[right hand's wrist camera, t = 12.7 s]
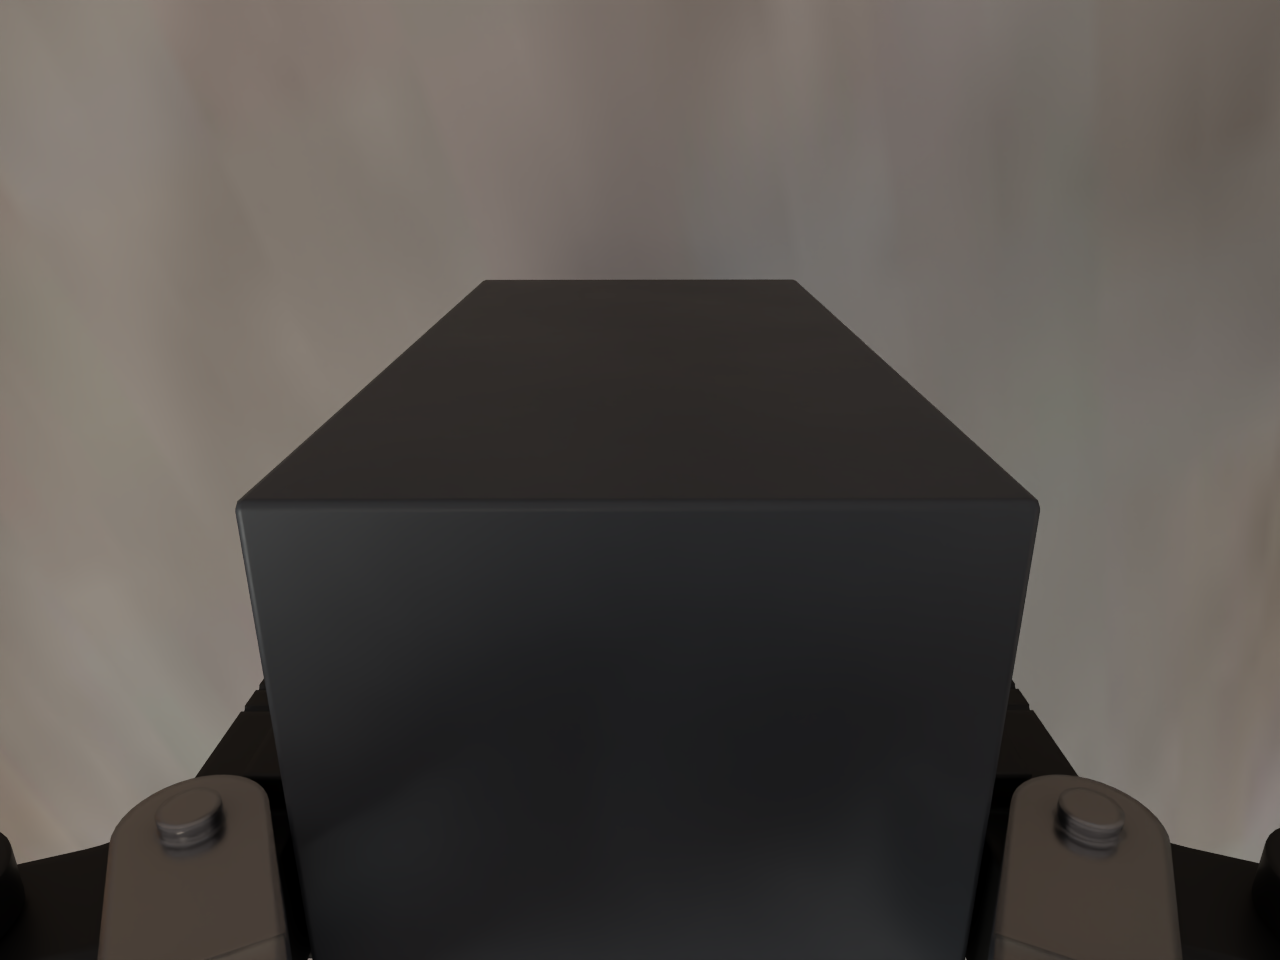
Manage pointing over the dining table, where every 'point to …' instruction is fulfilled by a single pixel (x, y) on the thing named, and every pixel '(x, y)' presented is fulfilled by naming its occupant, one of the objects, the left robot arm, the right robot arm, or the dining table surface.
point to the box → (638, 637)
